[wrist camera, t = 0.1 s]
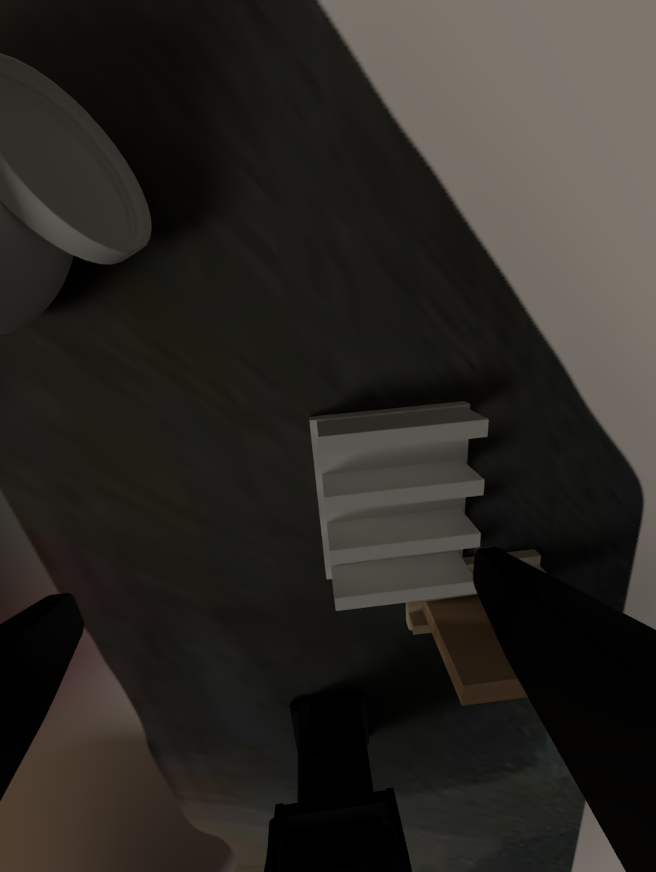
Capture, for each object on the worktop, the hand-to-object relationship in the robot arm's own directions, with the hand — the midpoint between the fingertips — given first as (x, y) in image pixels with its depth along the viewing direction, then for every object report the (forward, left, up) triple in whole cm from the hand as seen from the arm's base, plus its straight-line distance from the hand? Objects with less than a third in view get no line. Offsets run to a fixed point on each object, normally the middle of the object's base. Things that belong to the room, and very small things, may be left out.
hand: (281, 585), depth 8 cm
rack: (-6, -6, -15) cm, 17 cm away
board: (-15, -12, -14) cm, 24 cm away
